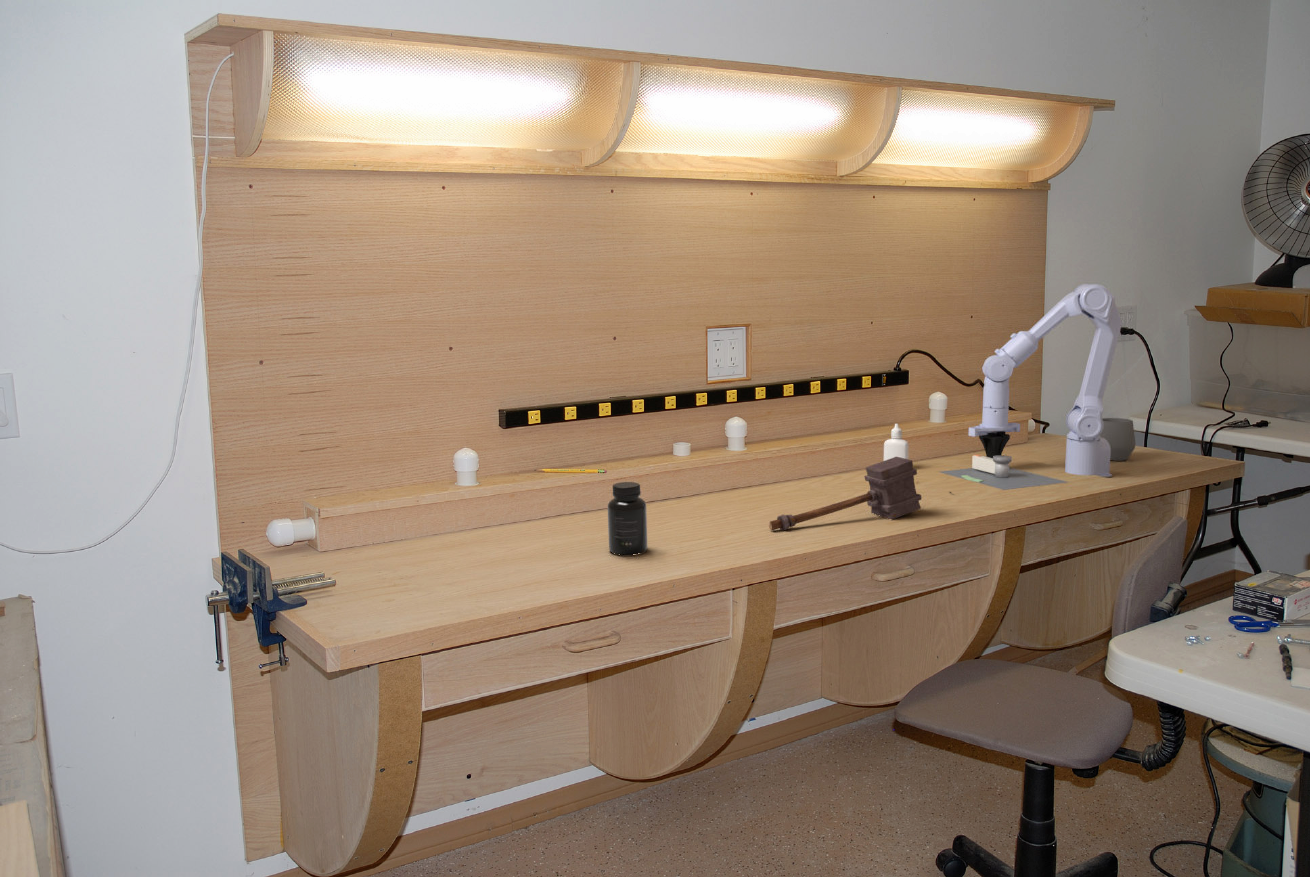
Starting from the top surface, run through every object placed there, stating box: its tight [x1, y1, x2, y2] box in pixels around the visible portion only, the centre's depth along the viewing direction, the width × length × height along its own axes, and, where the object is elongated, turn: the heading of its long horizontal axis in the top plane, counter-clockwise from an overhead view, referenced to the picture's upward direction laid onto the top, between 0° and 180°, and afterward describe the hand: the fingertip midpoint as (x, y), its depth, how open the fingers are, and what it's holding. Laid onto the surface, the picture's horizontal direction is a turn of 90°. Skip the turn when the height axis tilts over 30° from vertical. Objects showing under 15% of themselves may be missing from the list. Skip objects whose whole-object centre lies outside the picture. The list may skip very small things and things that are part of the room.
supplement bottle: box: [607, 481, 648, 556], centre depth 173 cm, size 7×7×12 cm
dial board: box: [939, 467, 1068, 491], centre depth 226 cm, size 18×22×1 cm
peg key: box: [971, 453, 1013, 478], centre depth 229 cm, size 11×4×4 cm, turn 23°
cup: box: [1100, 417, 1136, 462], centre depth 249 cm, size 10×9×10 cm
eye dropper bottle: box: [883, 423, 909, 461], centre depth 236 cm, size 4×6×12 cm
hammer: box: [768, 457, 922, 531], centre depth 192 cm, size 7×33×10 cm, turn 115°
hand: (993, 464), depth 234 cm, fingers closed
